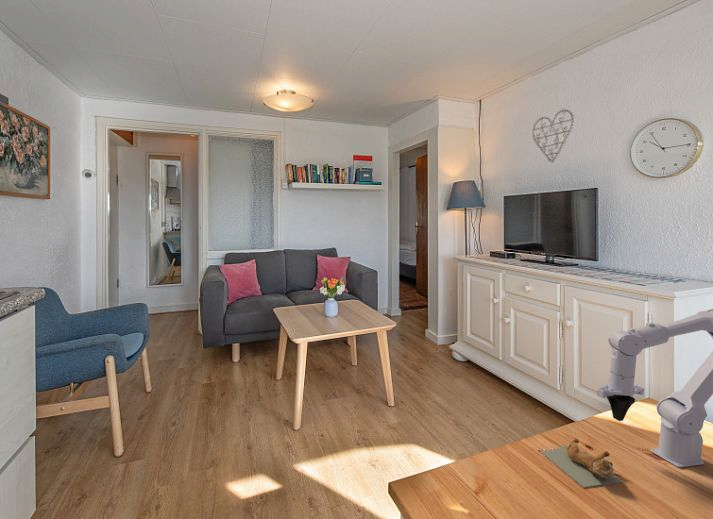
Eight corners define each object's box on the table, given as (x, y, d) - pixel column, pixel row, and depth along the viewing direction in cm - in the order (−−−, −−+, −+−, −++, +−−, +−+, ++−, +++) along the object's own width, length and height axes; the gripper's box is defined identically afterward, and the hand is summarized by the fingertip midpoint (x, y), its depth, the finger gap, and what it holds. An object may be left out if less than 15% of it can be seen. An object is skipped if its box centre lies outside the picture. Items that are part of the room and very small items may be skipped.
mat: (572, 446, 108) (572, 445, 108) (623, 482, 92) (623, 481, 92) (537, 450, 105) (537, 448, 105) (583, 488, 90) (583, 486, 90)
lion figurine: (622, 451, 94) (603, 464, 90) (628, 472, 93) (608, 486, 89) (568, 435, 107) (548, 446, 103) (572, 454, 106) (553, 466, 102)
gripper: (629, 367, 110) (625, 410, 111) (589, 369, 107) (585, 414, 108) (652, 376, 104) (648, 422, 105) (611, 379, 100) (606, 426, 101)
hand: (618, 419), depth 106 cm, fingers closed
